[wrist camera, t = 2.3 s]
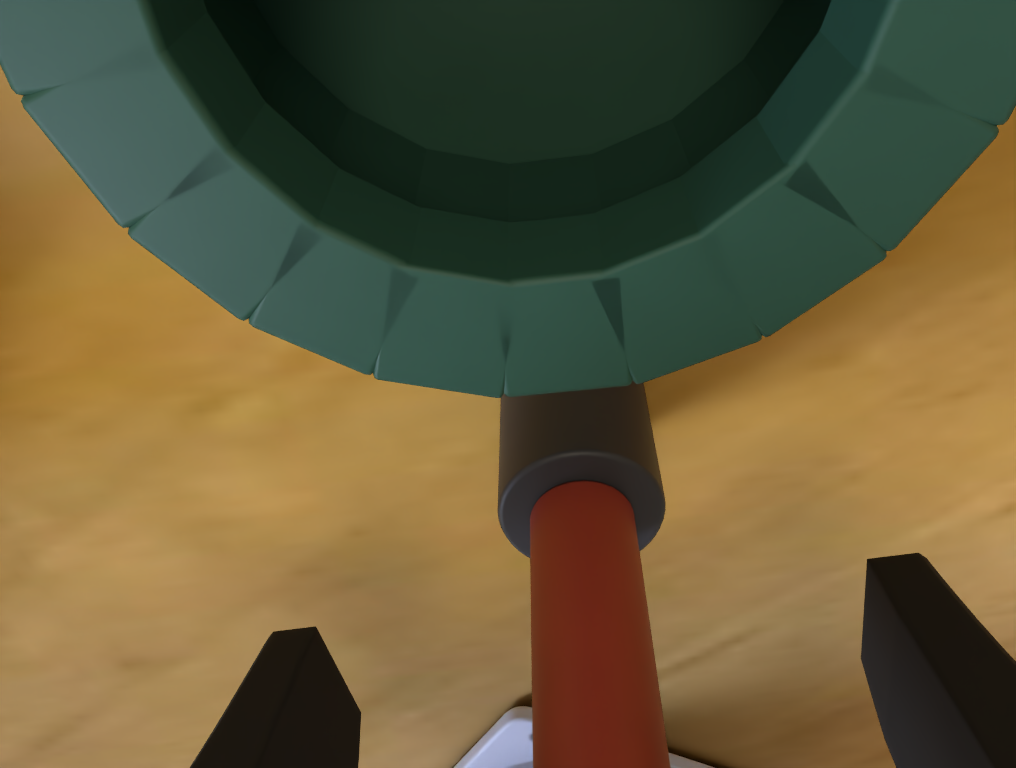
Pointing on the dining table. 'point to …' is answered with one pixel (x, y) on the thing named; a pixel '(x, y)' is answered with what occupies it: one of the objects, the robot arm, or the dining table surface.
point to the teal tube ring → (516, 164)
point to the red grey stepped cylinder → (586, 571)
